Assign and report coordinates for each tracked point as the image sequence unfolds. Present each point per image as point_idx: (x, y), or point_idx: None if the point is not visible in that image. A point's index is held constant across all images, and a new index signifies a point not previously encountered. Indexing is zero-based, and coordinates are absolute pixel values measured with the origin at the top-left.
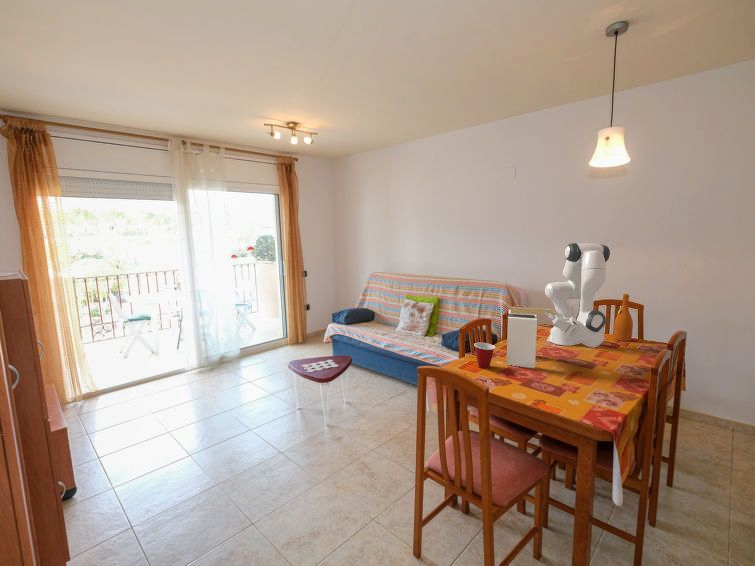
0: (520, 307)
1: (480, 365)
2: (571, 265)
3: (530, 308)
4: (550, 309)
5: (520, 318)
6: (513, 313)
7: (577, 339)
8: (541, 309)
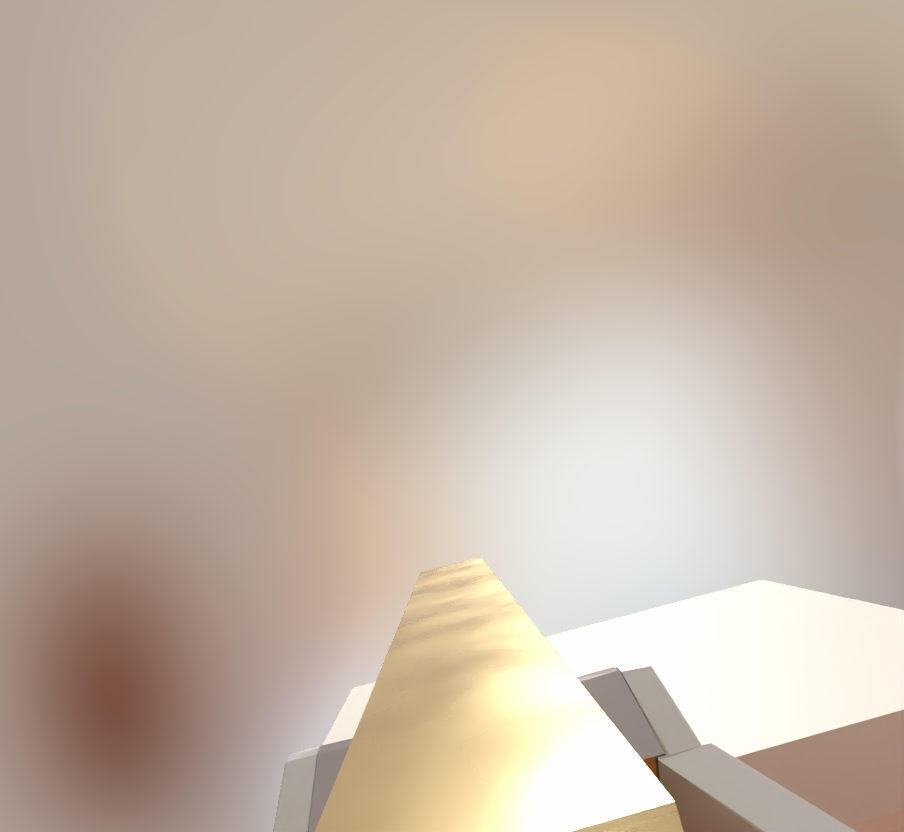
0: (469, 572)
1: None
2: None
3: (439, 600)
4: (451, 724)
5: (336, 738)
6: (590, 641)
7: None
8: (388, 656)
